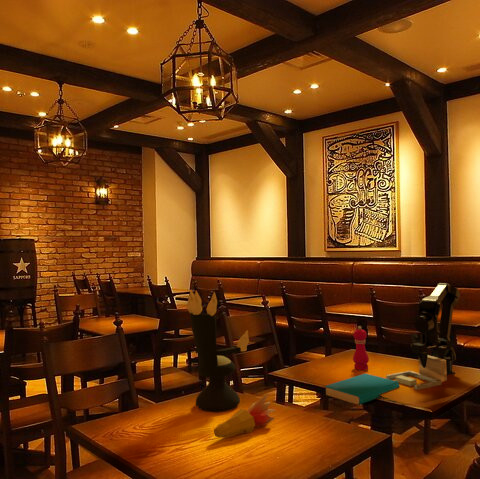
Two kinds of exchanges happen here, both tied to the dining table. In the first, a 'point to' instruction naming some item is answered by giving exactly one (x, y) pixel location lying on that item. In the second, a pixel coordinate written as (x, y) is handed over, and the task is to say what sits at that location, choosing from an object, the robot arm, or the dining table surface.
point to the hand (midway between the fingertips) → (432, 365)
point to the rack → (428, 384)
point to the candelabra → (213, 357)
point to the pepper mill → (360, 350)
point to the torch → (246, 419)
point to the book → (361, 388)
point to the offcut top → (406, 380)
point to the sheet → (434, 368)
